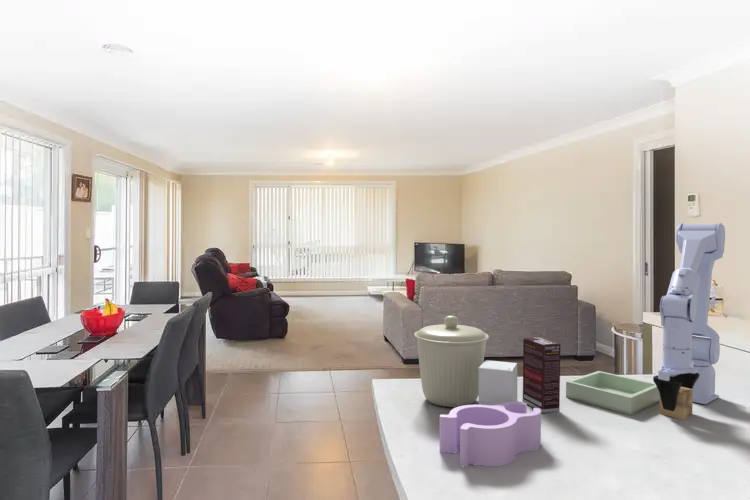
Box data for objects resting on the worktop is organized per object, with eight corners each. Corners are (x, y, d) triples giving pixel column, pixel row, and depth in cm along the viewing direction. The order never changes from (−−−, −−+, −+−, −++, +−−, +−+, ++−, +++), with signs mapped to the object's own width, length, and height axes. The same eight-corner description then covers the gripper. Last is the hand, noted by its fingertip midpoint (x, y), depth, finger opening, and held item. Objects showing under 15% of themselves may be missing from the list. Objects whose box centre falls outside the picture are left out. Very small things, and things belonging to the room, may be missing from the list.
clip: (510, 428, 106) (511, 396, 106) (556, 451, 95) (556, 415, 95) (431, 446, 97) (431, 411, 97) (471, 474, 86) (471, 434, 86)
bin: (598, 385, 136) (598, 370, 136) (661, 400, 124) (661, 384, 124) (566, 397, 127) (566, 381, 126) (630, 415, 114) (630, 397, 114)
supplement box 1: (518, 418, 112) (518, 362, 111) (512, 430, 105) (513, 370, 105) (485, 413, 115) (485, 359, 114) (477, 425, 108) (477, 366, 108)
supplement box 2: (560, 411, 116) (561, 343, 116) (542, 413, 115) (543, 344, 114) (538, 399, 125) (539, 336, 124) (521, 401, 123) (522, 337, 123)
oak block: (668, 409, 118) (669, 383, 118) (692, 415, 114) (692, 389, 114) (659, 413, 115) (659, 387, 115) (683, 420, 111) (683, 393, 111)
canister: (474, 419, 111) (475, 324, 111) (401, 405, 120) (401, 318, 120) (497, 396, 127) (497, 313, 127) (430, 385, 136) (431, 308, 135)
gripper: (683, 355, 107) (682, 418, 107) (709, 345, 116) (707, 404, 116) (648, 349, 112) (647, 409, 113) (675, 340, 121) (674, 396, 122)
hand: (675, 406), depth 115 cm, fingers open, 7 cm apart
